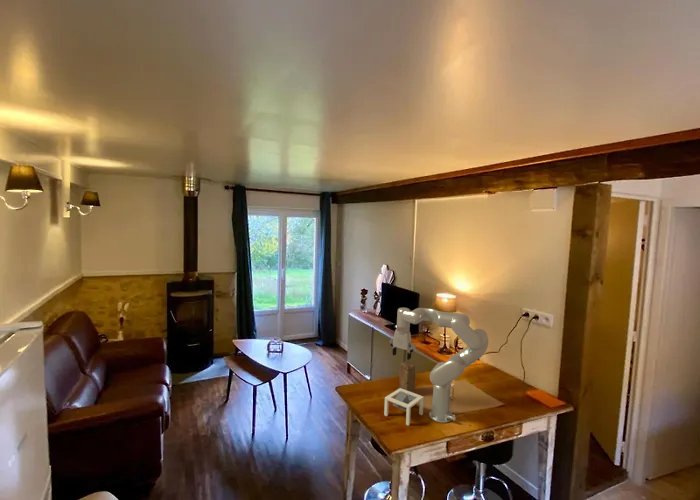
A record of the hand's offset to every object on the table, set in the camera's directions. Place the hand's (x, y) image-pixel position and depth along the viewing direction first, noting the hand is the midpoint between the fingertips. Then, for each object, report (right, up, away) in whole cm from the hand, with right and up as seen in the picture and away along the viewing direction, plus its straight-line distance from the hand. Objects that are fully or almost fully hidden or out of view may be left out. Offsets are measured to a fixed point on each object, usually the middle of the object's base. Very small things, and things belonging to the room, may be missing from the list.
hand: (401, 357), depth 221 cm
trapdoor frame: (0, -31, -7) cm, 32 cm away
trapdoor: (+1, -24, -7) cm, 25 cm away
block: (+6, -29, +19) cm, 35 cm away
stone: (0, -24, -9) cm, 26 cm away
